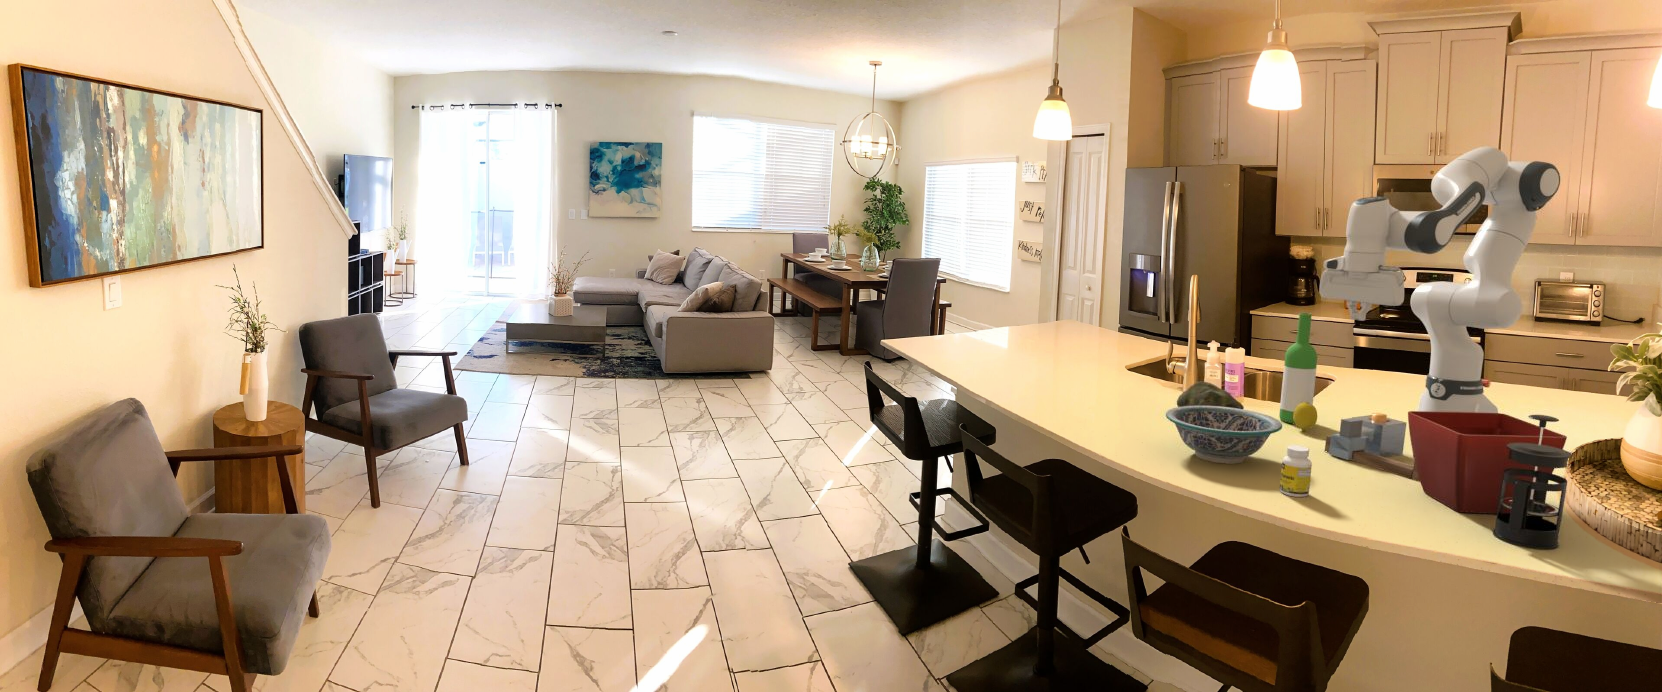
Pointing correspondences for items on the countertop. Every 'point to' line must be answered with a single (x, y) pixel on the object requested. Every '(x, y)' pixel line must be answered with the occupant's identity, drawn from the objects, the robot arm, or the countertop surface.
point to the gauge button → (1379, 417)
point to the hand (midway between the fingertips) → (1357, 319)
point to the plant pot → (1471, 455)
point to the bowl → (1222, 431)
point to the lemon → (1305, 416)
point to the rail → (1381, 462)
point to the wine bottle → (1298, 371)
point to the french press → (1519, 522)
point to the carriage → (1348, 439)
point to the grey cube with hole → (1384, 436)
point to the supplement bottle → (1296, 472)
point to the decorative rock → (1207, 396)
